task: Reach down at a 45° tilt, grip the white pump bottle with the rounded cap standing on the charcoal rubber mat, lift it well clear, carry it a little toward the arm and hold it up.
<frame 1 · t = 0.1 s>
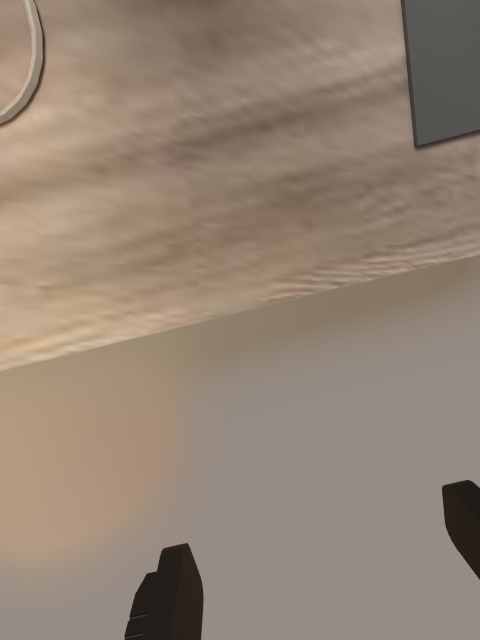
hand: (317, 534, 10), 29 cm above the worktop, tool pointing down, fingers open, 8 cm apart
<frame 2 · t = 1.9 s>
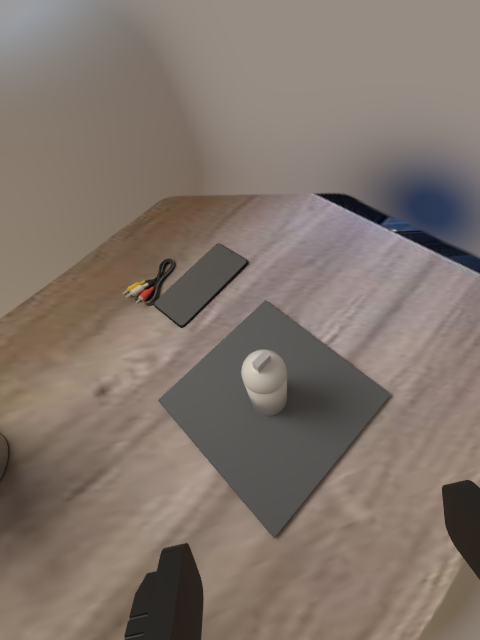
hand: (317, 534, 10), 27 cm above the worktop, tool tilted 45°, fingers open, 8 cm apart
white pump bottle: (269, 397, 38), point 1 cm above the worktop, touching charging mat
smartphone: (202, 285, 49), on the worktop
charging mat: (269, 398, 39), on the worktop
composite cable: (158, 286, 51), on the worktop
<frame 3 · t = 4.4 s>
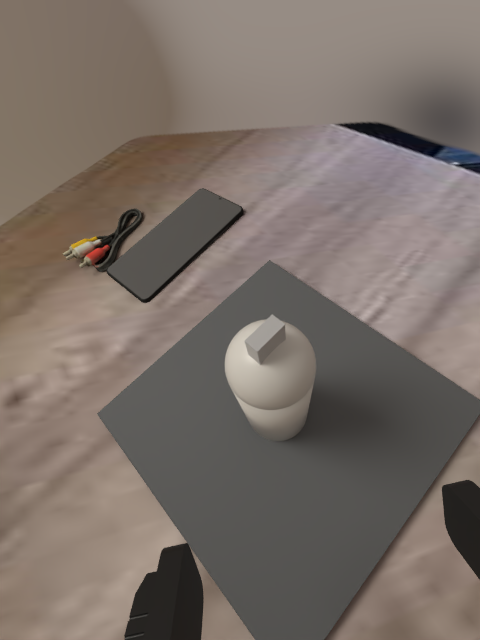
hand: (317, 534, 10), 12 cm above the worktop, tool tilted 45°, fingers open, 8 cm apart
white pump bottle: (276, 409, 23), point 1 cm above the worktop, touching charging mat
smartphone: (178, 245, 34), on the worktop
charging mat: (277, 411, 23), on the worktop
composite cable: (117, 246, 35), on the worktop
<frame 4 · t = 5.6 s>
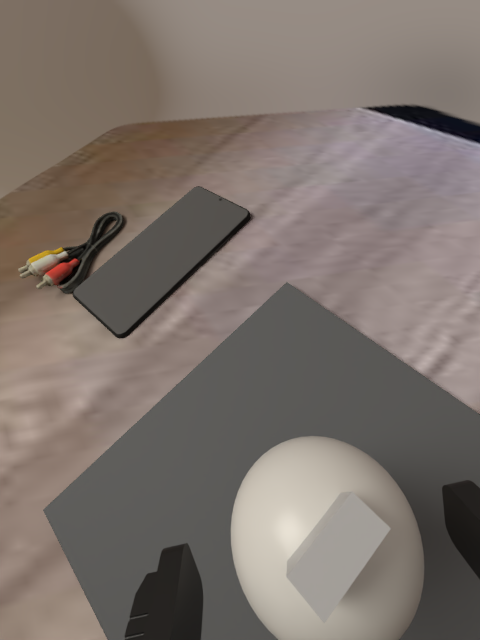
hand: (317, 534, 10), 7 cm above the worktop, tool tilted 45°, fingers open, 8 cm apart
white pump bottle: (305, 514, 15), point 1 cm above the worktop, touching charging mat
smartphone: (167, 259, 27), on the worktop
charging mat: (304, 514, 16), on the worktop
composite cable: (90, 260, 28), on the worktop
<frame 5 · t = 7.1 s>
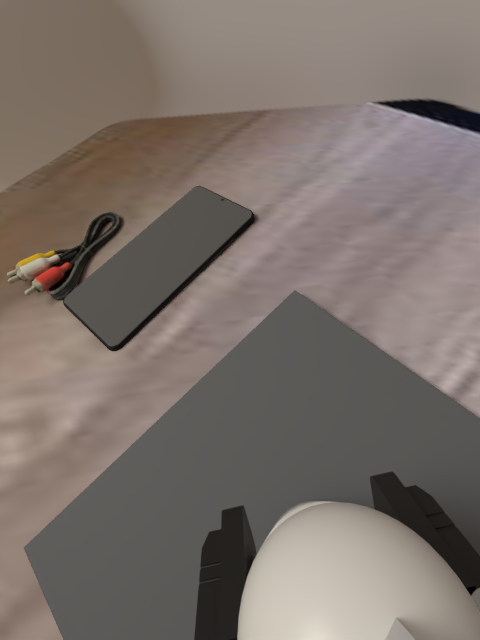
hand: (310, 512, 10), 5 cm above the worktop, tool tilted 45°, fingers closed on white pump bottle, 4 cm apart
white pump bottle: (318, 559, 14), point 1 cm above the worktop, touching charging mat, gripper
smartphone: (165, 264, 25), on the worktop
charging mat: (317, 557, 14), on the worktop
composite cable: (84, 264, 26), on the worktop
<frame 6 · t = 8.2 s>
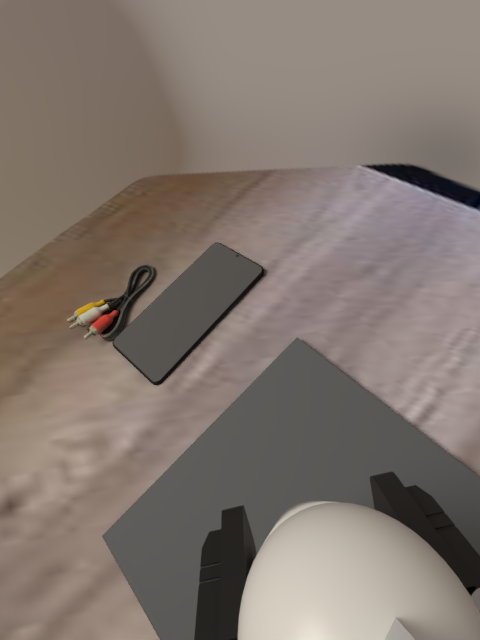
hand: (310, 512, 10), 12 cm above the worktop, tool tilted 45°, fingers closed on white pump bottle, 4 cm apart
white pump bottle: (318, 559, 14), point 7 cm above the worktop, touching gripper
smartphone: (192, 310, 31), on the worktop
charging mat: (314, 541, 20), on the worktop
composite cable: (126, 308, 32), on the worktop
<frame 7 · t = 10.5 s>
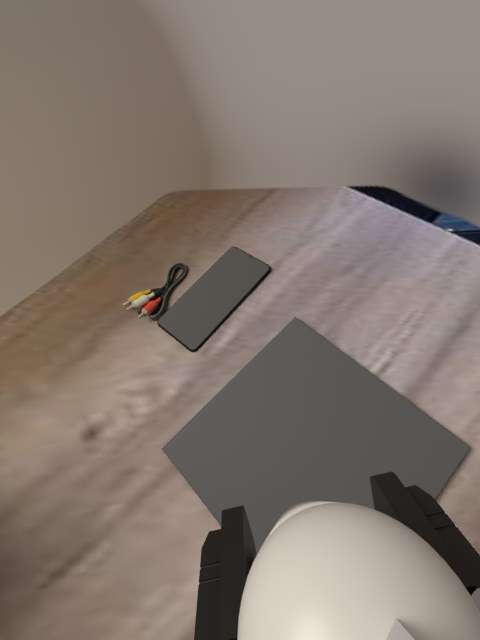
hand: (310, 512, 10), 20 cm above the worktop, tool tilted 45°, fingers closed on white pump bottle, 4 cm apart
white pump bottle: (318, 559, 14), point 15 cm above the worktop, touching gripper
smartphone: (216, 298, 41), on the worktop
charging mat: (306, 448, 30), on the worktop
composite cable: (166, 296, 42), on the worktop
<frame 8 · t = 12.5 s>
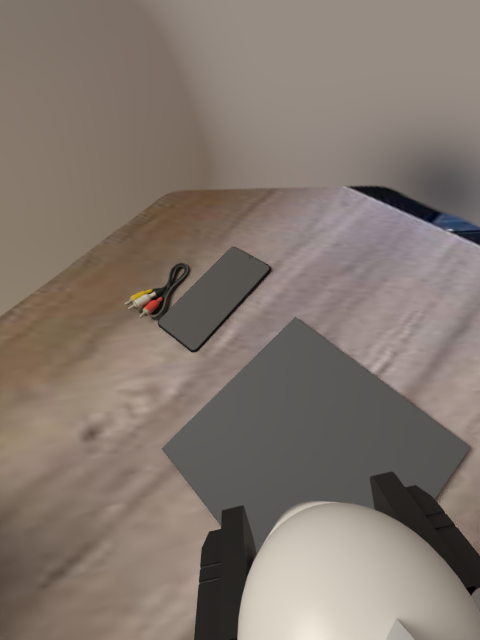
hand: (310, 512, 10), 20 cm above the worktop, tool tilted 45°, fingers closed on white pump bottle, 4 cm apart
white pump bottle: (318, 559, 14), point 15 cm above the worktop, touching gripper
smartphone: (216, 298, 41), on the worktop
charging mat: (306, 448, 30), on the worktop
composite cable: (167, 296, 42), on the worktop
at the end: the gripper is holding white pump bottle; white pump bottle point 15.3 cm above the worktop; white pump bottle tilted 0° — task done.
